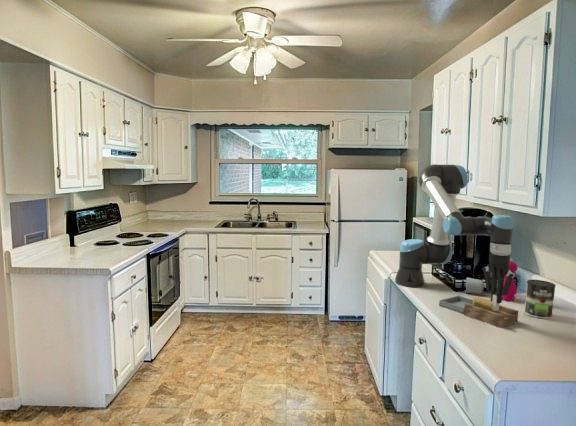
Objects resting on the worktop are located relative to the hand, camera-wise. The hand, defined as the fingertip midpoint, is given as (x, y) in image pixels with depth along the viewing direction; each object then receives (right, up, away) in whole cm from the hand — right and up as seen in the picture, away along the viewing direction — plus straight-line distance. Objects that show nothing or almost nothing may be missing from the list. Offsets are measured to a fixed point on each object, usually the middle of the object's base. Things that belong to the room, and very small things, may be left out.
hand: (495, 309), depth 166 cm
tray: (-8, -2, +15) cm, 17 cm away
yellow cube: (-2, -1, +2) cm, 3 cm away
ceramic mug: (+8, -1, +37) cm, 38 cm away
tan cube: (-4, -1, +6) cm, 7 cm away
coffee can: (+22, -4, +8) cm, 24 cm away
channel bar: (-1, -4, +2) cm, 5 cm away
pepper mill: (+20, -2, +28) cm, 34 cm away
